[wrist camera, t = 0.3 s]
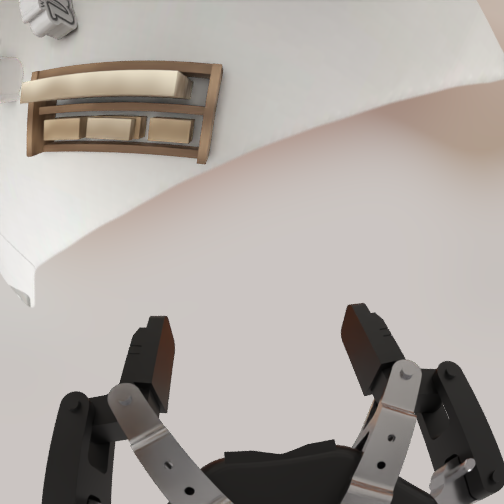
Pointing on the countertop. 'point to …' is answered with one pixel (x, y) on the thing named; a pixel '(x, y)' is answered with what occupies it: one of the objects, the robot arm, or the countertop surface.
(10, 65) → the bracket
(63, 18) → the decorative sign
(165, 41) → the countertop surface
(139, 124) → the block
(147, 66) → the rack
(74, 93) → the sheet
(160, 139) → the offcut
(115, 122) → the upper offcut
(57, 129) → the offcut
